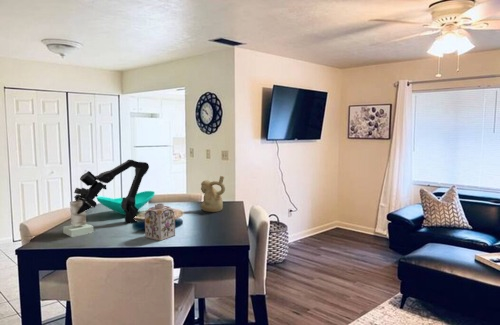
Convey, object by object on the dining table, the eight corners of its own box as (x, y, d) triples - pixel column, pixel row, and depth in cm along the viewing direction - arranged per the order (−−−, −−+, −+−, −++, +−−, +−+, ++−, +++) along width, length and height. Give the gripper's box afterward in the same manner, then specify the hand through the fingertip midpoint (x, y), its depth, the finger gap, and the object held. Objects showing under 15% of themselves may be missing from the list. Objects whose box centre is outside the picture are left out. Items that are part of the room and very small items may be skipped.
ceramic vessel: (207, 207, 275) (206, 173, 273) (230, 209, 267) (230, 175, 265) (194, 211, 260) (194, 176, 257) (219, 214, 252) (218, 177, 249)
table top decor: (103, 221, 233) (103, 201, 232) (92, 214, 255) (91, 195, 254) (162, 212, 257) (161, 194, 256) (146, 206, 279) (146, 189, 278)
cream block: (82, 221, 212) (81, 200, 211) (86, 224, 208) (84, 202, 206) (71, 224, 208) (69, 201, 206) (75, 226, 204) (73, 203, 202)
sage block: (85, 229, 217) (84, 222, 217) (93, 233, 209) (93, 226, 208) (63, 233, 208) (63, 226, 208) (71, 237, 200) (71, 230, 200)
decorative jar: (160, 232, 207) (159, 201, 206) (175, 235, 202) (175, 203, 200) (144, 238, 197) (143, 205, 196) (160, 241, 191) (159, 207, 190)
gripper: (76, 180, 215) (57, 202, 208) (89, 183, 202) (70, 206, 195) (91, 192, 222) (73, 213, 215) (104, 195, 209) (85, 218, 202)
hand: (75, 212), depth 207 cm, fingers closed on cream block, 7 cm apart
